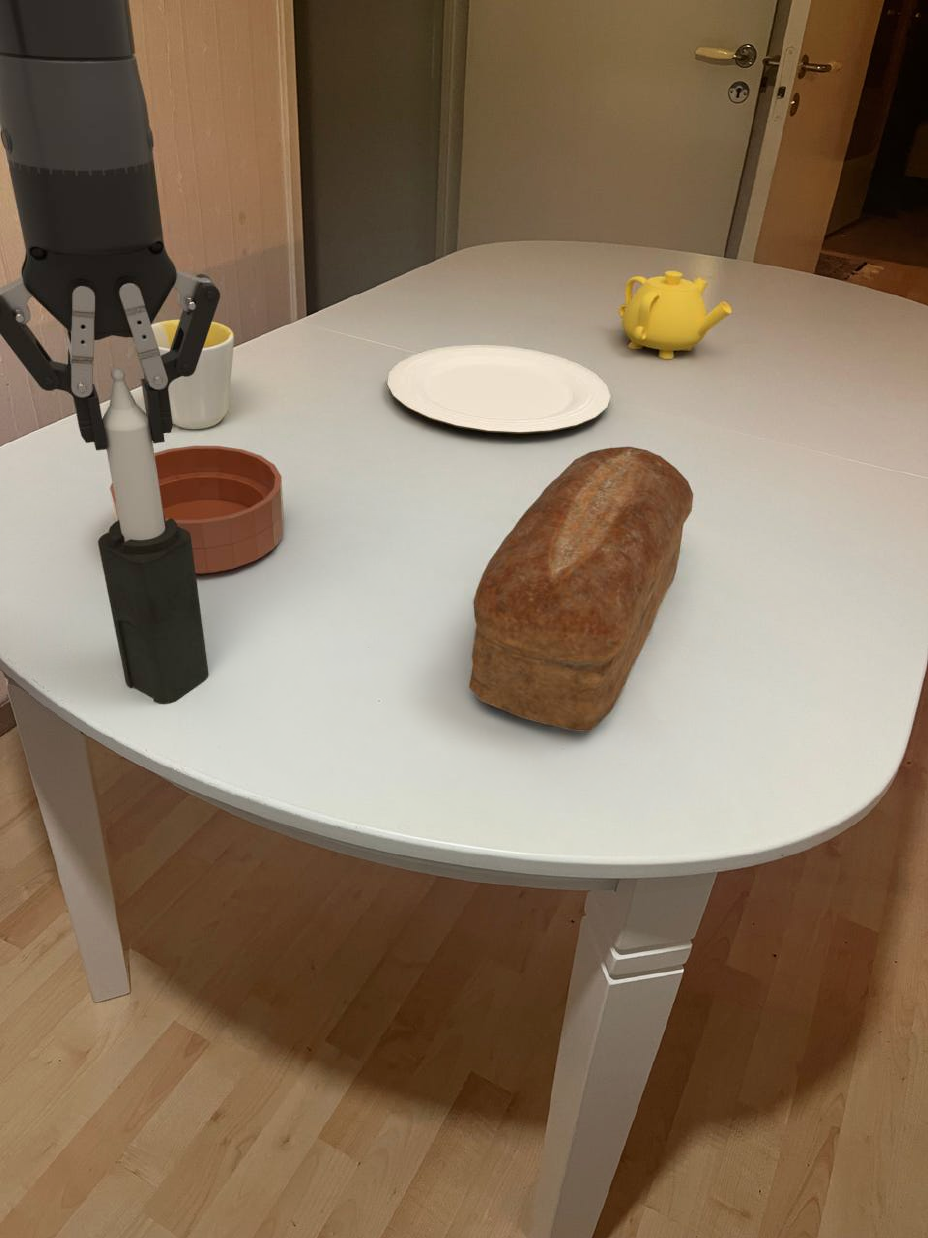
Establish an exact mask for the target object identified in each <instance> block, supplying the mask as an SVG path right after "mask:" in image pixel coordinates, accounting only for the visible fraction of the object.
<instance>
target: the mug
mask: <svg viewBox="0 0 928 1238" xmlns="http://www.w3.org/2000/svg"><path fill="white" fill-rule="evenodd" d="M179 321H180V318H179V319H170V320H164V321H160V322H159V321H158V322H155V323H152V324H151V326H152V329H153V332H154V336H155V339H156V342H157V345H158V348H159V352H160V356H161V355H163V354H165V353H168V352H170V349H171V345H172V342H173V339H174V336H175V333H176V330H177V327H178V324H179ZM234 342H235V335H234V332H233V330H232V328H230V327H228V326H227V325H225V324H222V323H219V322H216V321H212V323H211V326H210V329H209V332H208V335H207V338H206V340H205V343H204V346H203V349H202V352H201V355H200V358H199V361H198V364H197V367H196V370H195V372H194V374H193V375H191V376H188V377H184V376H181V377H179V378H177V379H175V380H173V381H172V382H171V383H170V385H169V389H168V391H169V399H170V406H171V414H172V421H173V425H174V426H176V427H178V428H182V429H185V430H203V429H207V428H211V427H214V426H216V425H218V424H219V423H220V422H221V421H222V419H223V418H224V417H225V416H226V415H227V413H229V412H228V411H229V409H230V399H231V398H230V397H231V383H232V382H231V381H232V369H233V358H234V346H235V345H234V344H235V343H234Z"/></svg>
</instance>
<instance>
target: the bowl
mask: <svg viewBox="0 0 928 1238" xmlns="http://www.w3.org/2000/svg"><path fill="white" fill-rule="evenodd" d="M154 455H155V462H156V469H157V476H158V482H159V489H160V496H161V503H162V510H163V515H165V521H167V520H169V519H170V518H172V519H174V521H175V522H176V523H177V526H178V527H180V528H183V529H185V530H187V531H188V532H189V533H190V535H191V541H192V549H193V557H194V564H195V572H196V575H205V574H213V573H214V574H215V573H221V572H225V571H230V570H233V569H236V568H239V567H241V566H244V565H247V564H250V563H252V562H255V561H257V560H259V559H261V558H262V557H263V556H265V555H267V554H268V553H269V552H271V551H273V550H274V549H275V548H276V547H277V545H278V544H279V542H280V541H281V540H282V538H283V537H284V533H285V532H284V531H285V511H284V510H285V509H284V495H283V493H284V492H283V479H282V478H283V477H282V474H281V473H280V471H279V470H278V468H277V467H276V465H275V464H274V463H272V462H271V461H269V460H268V459H267V458H266V457H264V456H262V455H261V454H257V453H254V452H251V451H249V450H245V449H243V448H235V447H229V446H223V445H190V446H189V445H188V446H182V447H173V448H167V449H163V450H160V451H156V452H154ZM109 490H110V497H111V502H112V508H113V512H114V513H113V514H114V518H115V522H116V521H118V520H119V516H118V511H117V505H116V500H115V494H114V488H113V483H112V482H111V485H110V487H109Z"/></svg>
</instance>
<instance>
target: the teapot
mask: <svg viewBox="0 0 928 1238" xmlns="http://www.w3.org/2000/svg"><path fill="white" fill-rule="evenodd" d="M683 276H684V275H683V273H682V272H680V271H676V270H667V271H665V272H664V276H662V275H661V276H653V277H650V278H648V279H647V278H645V277H644V276H639V275H638V276H637V275H635V276H633V277H631V278H629V279H628V280H627V282H626V284H625V287H624V301H625V303H623V304H621V305H620V306H619V308H618V314H619V316H620V317H621V318H622V319H621V325H622V326H621V327H622V329H623V331H624V332H625V334H626V336H627V337H628V339H629V340H631V341H630V342H629V344H628V345H627V347H628V348H630V349H633V350H642V349H643V348H644V347H646V348H650V349H654V350H659V353H658V357H659V358H661V359H664V360H673V359H674V358H675V354H674V351H684V352H685V351H686V352H688V351H692V350H693V347H695V346H696V345H697V344H698V343H700V342H701V341H702V340H703V339H704V338H705V336H706V334H707V332H708V331H710V330H711V329H712V328H713V327H715V326H716V325H717V324H718V323H720V322H721V321H722V320H724V319H725V318H726V317H728V316H729V315H730V314H732V308H731V306H730V305H729V304H728V302H726V301H721V302H720V303H719V304H718V305H716V306H715V307H714V308H713V309H712V310H711V311H709V312H708V313H707V308H706V305H705V302H704V298H703V296H702V295H703V293H704V292H705V290H706V288H707V286H708V282H707V281H706V280H704V279H703V278H701V277H695V279H694V280H693V281H690V280H688V279H684V278H682V277H683ZM635 283H639V284H641V286H640V287H639V288H638V289H637V290H636V291H635V293H634V294H633V287H634V284H635Z"/></svg>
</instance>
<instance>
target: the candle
mask: <svg viewBox="0 0 928 1238" xmlns="http://www.w3.org/2000/svg"><path fill="white" fill-rule="evenodd" d="M110 377H111V378H112V380H113V381H112V388H111V394H110V398H109V399H110V401H109V405H108V407H107V409H106V411H105V412H104V415H103V416H102V420H103V426H104V431H105V437H106V442H107V449H105V450H106V455H107V461H108V466H109V472H110V477H111V481H112V482H111V484H112V483H113V488H114V494H115V500H116V505H117V511H118V516H119V520H118V521H116V520H115V522H113V523H112V525H111V526H109V529H108V531H107V532H106V533H104V534H103V535H101V536H100V537H99V538H98V540H97V545H98V551H99V555H100V561H101V567H102V570H103V575H104V580H105V585H106V590H107V595H108V600H109V606H110V610H111V615H112V620H113V626H114V631H115V637H116V640H117V647H118V651H119V656H120V660H121V666H122V671H123V676H124V682H125V684H126V686H127V687H129V688H130V689H133V688H134V689H136V690H137V691H139V692H141V693H143V694H144V695H146V696H149V697H150V698H152V699H153V701H154V702H155V703H158V704H170V703H174V702H176V701H177V700H179V699H180V698H182V697H183V696H185V695H186V694H188V693H189V692H190V691H193V689H195V688H196V687H197V686H199V685H200V684H202V683H203V682H205V680H207V679H208V677H209V667H208V660H207V657H208V656H207V651H206V642H205V635H204V628H203V619H202V611H201V605H200V596H199V595H200V594H199V589H198V581H197V574H196V572H195V564H194V557H193V549H192V541H191V535H190V533H189V532H188V531H187V530H185V529H183V528H180V527H178V526H177V523H176V522H175V521H174V519H172V518H170V519H169V520H167V521H165V515H163V510H162V503H161V496H160V489H159V482H158V476H157V469H156V462H155V455H154V453H155V449H154V448H155V447H154V443H153V441H152V435H151V428H150V421H149V418H148V415H147V414H146V411H144V410H143V409H142V408H141V407H140V406H139V405H138V403H137V402H136V400H135V398H134V397H133V394H132V392H131V390H130V388H129V386H128V384H127V382H126V380H125V378H126V373H125V371H124V370H123V369H122V368H120V367H114V368H113V369H112V371H111V372H110Z"/></svg>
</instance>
